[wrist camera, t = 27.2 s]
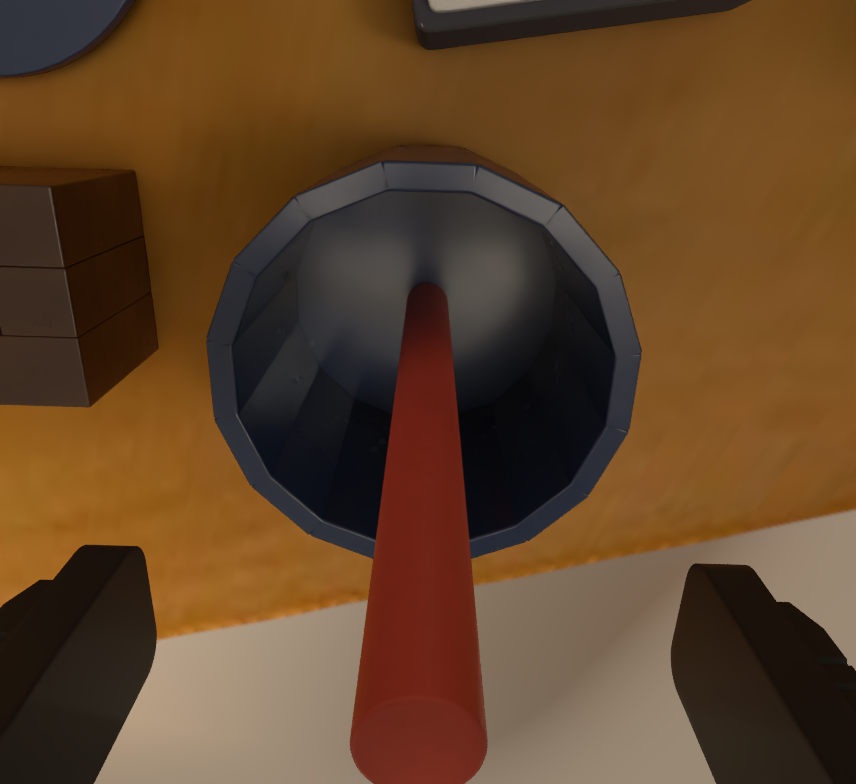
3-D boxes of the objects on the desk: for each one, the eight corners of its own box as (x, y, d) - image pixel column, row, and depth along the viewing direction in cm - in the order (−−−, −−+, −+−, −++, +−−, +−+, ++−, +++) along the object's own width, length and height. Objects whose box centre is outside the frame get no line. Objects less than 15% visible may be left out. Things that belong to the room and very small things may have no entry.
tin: (274, 140, 24) (186, 153, 16) (586, 150, 24) (672, 169, 16) (289, 423, 29) (227, 558, 20) (554, 430, 29) (608, 569, 20)
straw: (407, 282, 26) (348, 697, 7) (448, 283, 26) (493, 701, 7) (406, 322, 26) (350, 798, 8) (446, 323, 26) (483, 800, 8)
